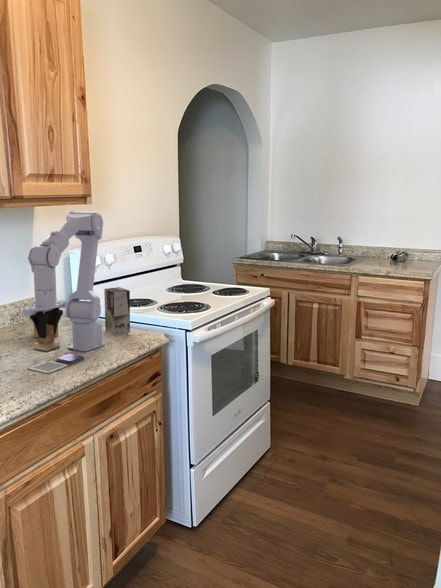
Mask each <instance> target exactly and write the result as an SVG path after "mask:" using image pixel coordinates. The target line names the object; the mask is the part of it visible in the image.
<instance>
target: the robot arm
mask: <svg viewBox="0 0 441 588" xmlns="http://www.w3.org/2000/svg"><path fill="white" fill-rule="evenodd" d="M65 219H66V222H65V223H64V224H63V226H62V227H61V228H60V230H59V231H57V230H56V231H52V232H50V235H48V236H47V238H45V239H44V241H42V243H40V244H39V245H35V246H33V247H32V248H31V249H30V250H29V253H28V256H27V258H28V259H27V260H28V263H29V264H30V268H31V273H33V285H34V298H35V303H34V305H30V306H28V307H24V308H22V315H23V316H24V317H29V319H30V320H31V321H32V322H33V323H32V324H33V326H34V325H35V327H36V330H37V333H38V336H39V338H46V334H47V324H51V325H53V326H54V335H55V334H56V330H57V326H58V327H59V322H60V320H61V317H62V316H63V314H64V310H63V309H62V308H64V309H65V314H66V317H67V318H68V319H69V322H72V323H71V325H72V326H71V327H72V328H71V329H72V330H71V331H72V344H71V345H68V346H67V347H66V348H67V349H70V350H74V351H79V352H88V351H92V350H94V349H97V348H100V347H103V346H105V343H104V342H103V326H102V323H101V321H100V319H99V318H100V317H101V313H102V307H101V298H100V297H99V295H97V294H96V293H95V292H94V282H95V276H96V275H95V274H96V263H97V255H98V246H99V240H101V239H102V238H103V237H102V235H103V227H104V220H103V217H102V215H101V213H100V212H99V211H75V210H70V212H68V213H67V215H66V218H65ZM72 237H75V238H76V239H79V240H80V242H81V249H80V256H79V263H78V264H79V265H78V266H79V267H78V274H77V275H78V276H77V283H76V285H77V286H76V290H75V291H74V292H72V293H71V294H69V296H68V300H65V299H61V300H58V299H57V300H56V298H57V281H56V279H57V277H56V267H57V266H58V265H59V262H60V258H61V257H62V253H63V252H65V250H66V249H67V247H69V244H70V242H69V240H70V239H71V238H72ZM43 312H44V313H43Z"/></svg>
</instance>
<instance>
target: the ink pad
mask: <svg viewBox="0 0 441 588" xmlns="http://www.w3.org/2000/svg"><path fill="white" fill-rule="evenodd" d="M85 360H86V359H85V356H83V355H79V354H72V353H67V354H64V355H61V356H59V357H56V359H54V362H58V363H63V364H67V365H69V366H73V365H75V364H78V363H80V362H83V361H85Z"/></svg>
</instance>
